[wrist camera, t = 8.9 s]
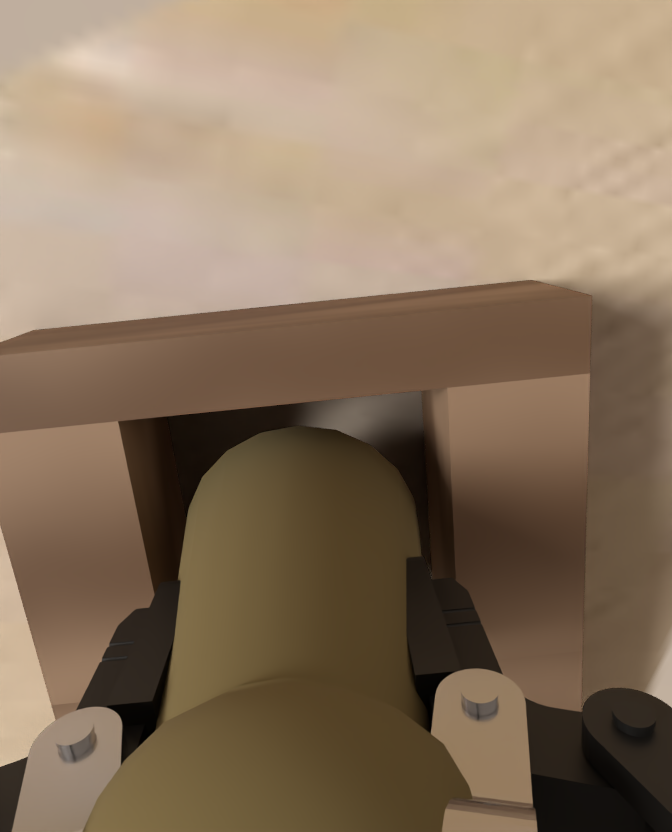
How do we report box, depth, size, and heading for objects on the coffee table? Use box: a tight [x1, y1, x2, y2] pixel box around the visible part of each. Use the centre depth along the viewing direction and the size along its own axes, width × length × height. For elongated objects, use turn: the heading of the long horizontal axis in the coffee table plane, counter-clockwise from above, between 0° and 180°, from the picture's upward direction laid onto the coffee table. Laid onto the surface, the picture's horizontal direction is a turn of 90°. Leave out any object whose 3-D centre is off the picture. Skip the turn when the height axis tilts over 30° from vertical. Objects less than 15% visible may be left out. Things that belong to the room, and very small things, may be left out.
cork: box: [83, 426, 473, 832], centre depth 11 cm, size 6×6×11 cm
